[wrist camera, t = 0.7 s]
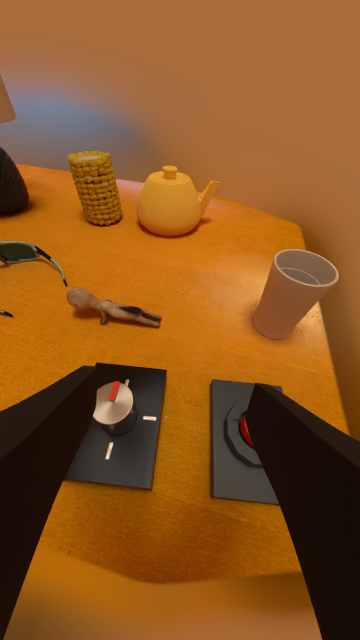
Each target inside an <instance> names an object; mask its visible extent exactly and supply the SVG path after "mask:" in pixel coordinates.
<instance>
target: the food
mask: <svg viewBox="0 0 360 640" xmlns="http://www.w3.org/2000/svg"><path fill="white" fill-rule="evenodd" d="M68 161H69V162H70V165H69V166H70V168H71V170H72V171H71V173H72V174H73V175H72V176H73V180H75V185H76V189H77V191H78V196H79V197H80V200H81V205H82V206H83V211H85V215H86V218H87V219H88V220H89V222H92V223H93V224H97V223H98V224H100V225H103V224H106V225H108V226H109V225H110V224H111V223H115V221H116V220H119V219H120V217H121V215H122V209H121V204H120V198H119V195H118V188H117V184H116V182H115V180H116V178H115V176H114V175H115V174H114V171H113V166H112V162H111V157H110V154H109V153H106V152H104V153H102V152H101V151H100V152H96V151H92V152H89V151H86V152H84V153H82V152H78V153H77V154H75V153H73V154H69V155H68Z"/></svg>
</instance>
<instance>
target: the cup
mask: <svg viewBox="0 0 360 640" xmlns="http://www.w3.org/2000/svg"><path fill="white" fill-rule="evenodd" d="M338 276H339V275H338V271H337V270H336V268H335V267H334V265H333V264H331V263H330V262H329V261H328V260H326V259H325V258H323V257H321V256H319V255H317V254H314V253H312V252H309V251H305V250H299V249H288V250H283V251H280V252H279V253H277V254H276V255H275V257H274V260H273V263H272V266H271V269H270V272H269V276H268V279H267V282H266V285H265V288H264V291H263V294H262V296H261V299H260V302H259V305H258V308H257V311H256V313H255V315H254V317H253V325H254V327H255V329H256V330H257V331H258V332H259V333H260V334H261V335H263V336H265V337H267V338H270V339H274V340H280V339H284V338H286V337H287V336H288V335H289V334H290V332H291V331H292V329H293V328H294V327H295V326H296V325H297V324H298V323H299V321H300V320H301V319H302V318H303V317H304V316H305V315H306V314H307V312H308V311H309V310H310V309H311V308H312V307H313V306H314V305H315V304H316V302H317V301H319V300H320V299H321V298H322V297H323V296H324V294H325V293H326V292H327V291H328V290H329V289H330V288H331V287H332V286H333V285H334V284H335V283H336V282H337V280H338Z"/></svg>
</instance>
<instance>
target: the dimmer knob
mask: <svg viewBox="0 0 360 640" xmlns="http://www.w3.org/2000/svg"><path fill="white" fill-rule="evenodd" d="M93 418H94V419H95V420H96V422H97V423H98V424H99V425H100V426H101V428H102V429H103V430H104V431H105V432H106V433H108V434H110V435H121V434H123V433H125V432H127V431H128V430H130V429H131V428H132V426H133V425H134V423H135V421H136V419H137V407H136V404H135V400H134V397H133V394H132V391H131V390H130V388H129V387H128V386H126V385H125V384H122V383H120V382H119V381H114V382H113V383H108V384H106V385H104V386H102V387H101V388H99V389H98V390H97V401H96V408H95V411H94V414H93Z"/></svg>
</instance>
